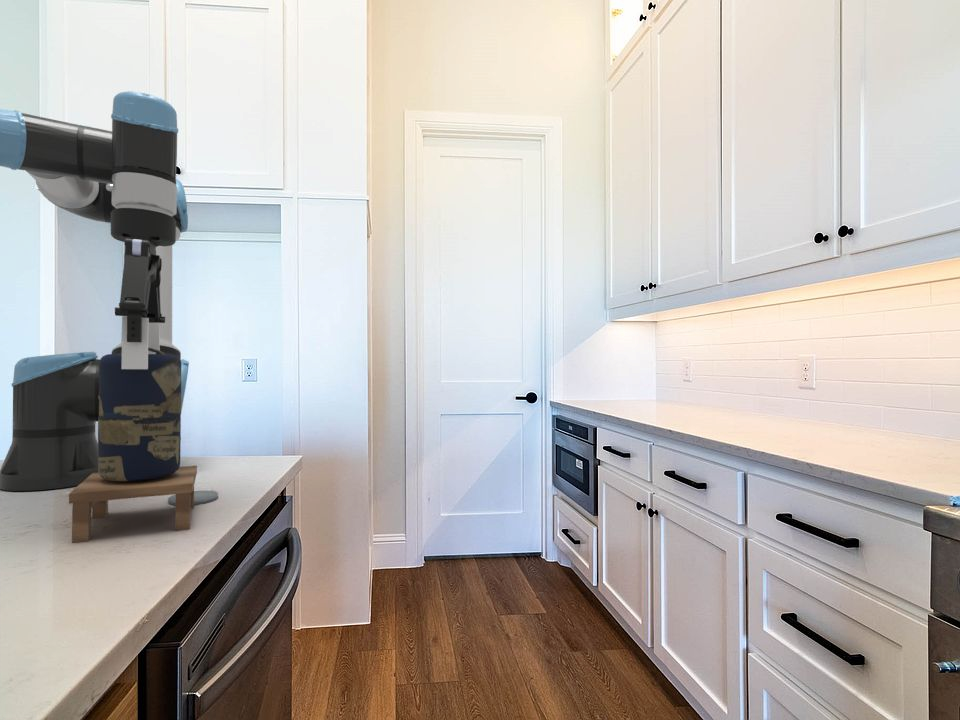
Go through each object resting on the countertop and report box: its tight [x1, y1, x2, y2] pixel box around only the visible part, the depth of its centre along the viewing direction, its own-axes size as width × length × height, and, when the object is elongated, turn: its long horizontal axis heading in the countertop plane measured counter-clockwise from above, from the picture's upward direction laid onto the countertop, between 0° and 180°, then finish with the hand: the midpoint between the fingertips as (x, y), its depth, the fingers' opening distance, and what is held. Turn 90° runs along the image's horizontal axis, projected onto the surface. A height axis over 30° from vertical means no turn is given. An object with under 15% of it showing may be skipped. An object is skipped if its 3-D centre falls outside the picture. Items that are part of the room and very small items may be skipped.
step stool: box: [68, 465, 198, 544], centre depth 71 cm, size 13×13×6 cm
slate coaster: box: [167, 490, 219, 506], centre depth 83 cm, size 7×7×1 cm
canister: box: [97, 348, 182, 481], centre depth 71 cm, size 10×10×18 cm
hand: (142, 367), depth 71 cm, fingers open, 13 cm apart
